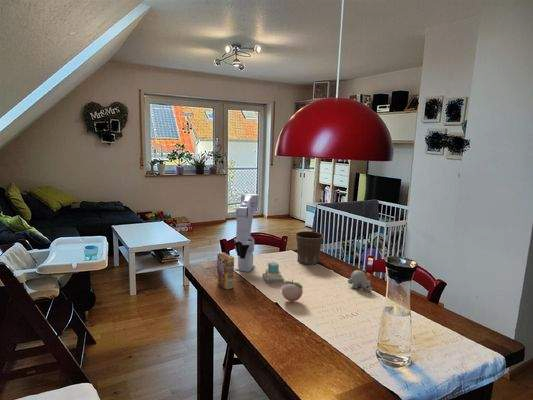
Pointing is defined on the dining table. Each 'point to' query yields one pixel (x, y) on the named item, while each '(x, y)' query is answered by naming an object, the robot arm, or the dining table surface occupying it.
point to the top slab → (273, 275)
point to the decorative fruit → (292, 290)
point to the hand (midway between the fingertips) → (241, 257)
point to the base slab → (272, 279)
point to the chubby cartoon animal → (360, 280)
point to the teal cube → (273, 267)
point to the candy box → (225, 270)
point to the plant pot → (308, 246)
